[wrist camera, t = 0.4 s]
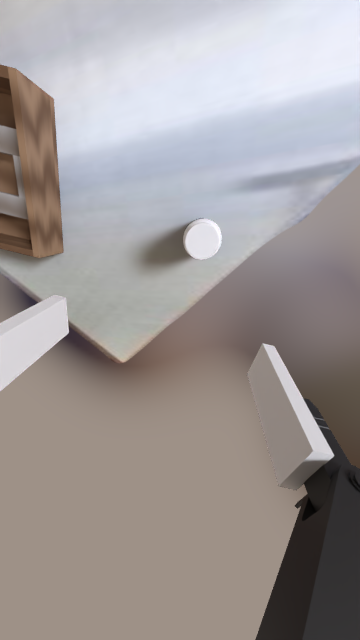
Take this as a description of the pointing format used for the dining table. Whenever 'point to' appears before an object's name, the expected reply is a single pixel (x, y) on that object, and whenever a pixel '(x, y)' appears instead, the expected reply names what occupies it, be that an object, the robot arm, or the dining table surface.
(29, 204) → the box
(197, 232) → the pill bottle
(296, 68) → the dining table surface
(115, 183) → the dining table surface
